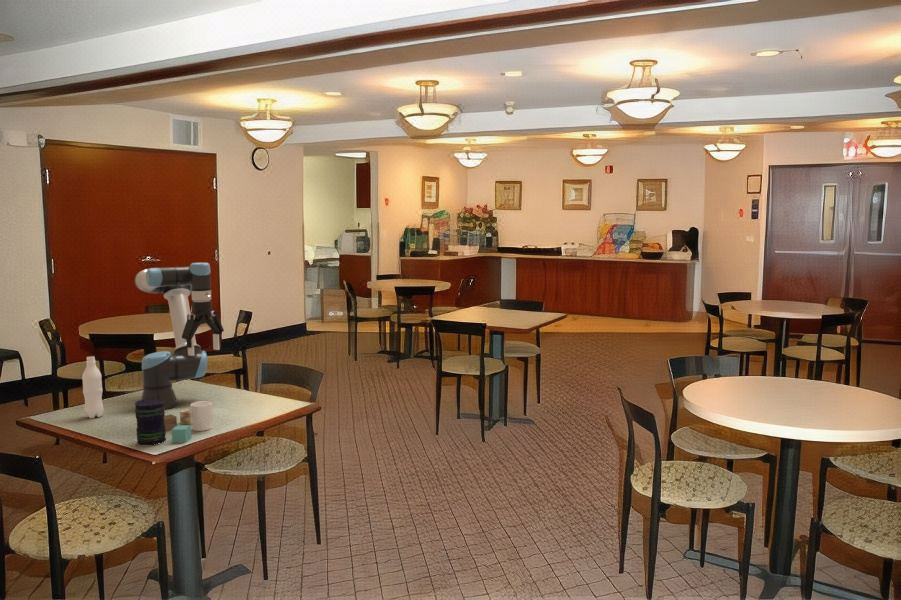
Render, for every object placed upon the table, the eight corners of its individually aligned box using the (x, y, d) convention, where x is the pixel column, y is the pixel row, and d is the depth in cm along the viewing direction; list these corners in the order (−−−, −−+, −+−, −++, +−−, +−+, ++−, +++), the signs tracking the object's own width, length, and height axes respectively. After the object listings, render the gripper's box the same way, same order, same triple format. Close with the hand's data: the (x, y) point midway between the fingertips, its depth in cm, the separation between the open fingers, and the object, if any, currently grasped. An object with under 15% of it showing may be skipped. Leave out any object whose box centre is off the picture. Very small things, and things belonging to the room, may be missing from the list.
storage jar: (172, 439, 260) (170, 399, 258) (151, 447, 251) (149, 406, 249) (152, 436, 263) (149, 397, 262) (130, 443, 254) (128, 403, 253)
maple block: (180, 424, 279) (179, 411, 279) (188, 420, 284) (187, 408, 283) (191, 425, 278) (190, 412, 277) (199, 421, 283) (198, 409, 282)
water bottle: (92, 413, 294) (89, 355, 291) (108, 414, 292) (104, 355, 290) (80, 418, 287) (76, 358, 284) (96, 419, 285) (92, 359, 283)
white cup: (206, 432, 268) (205, 406, 267) (187, 431, 269) (186, 405, 268) (217, 426, 276) (216, 401, 274) (198, 425, 277) (197, 400, 276)
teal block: (172, 442, 256) (171, 429, 255) (177, 438, 261) (177, 425, 260) (185, 442, 256) (185, 429, 255) (191, 438, 261) (190, 425, 260)
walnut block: (158, 429, 272) (157, 416, 272) (170, 426, 276) (170, 414, 275) (164, 431, 269) (164, 419, 268) (177, 428, 273) (176, 416, 272)
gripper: (184, 304, 272) (187, 358, 274) (231, 298, 294) (233, 348, 296) (170, 303, 275) (173, 357, 278) (217, 297, 297) (219, 346, 300)
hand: (204, 352), depth 287 cm, fingers open, 13 cm apart
